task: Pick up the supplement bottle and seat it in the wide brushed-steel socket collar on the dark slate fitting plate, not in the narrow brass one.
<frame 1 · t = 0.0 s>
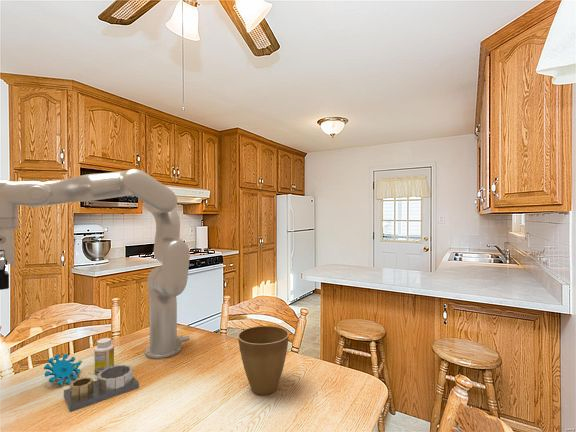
hand: (0, 286, 89), 31 cm above the table, tool pointing down, fingers open, 9 cm apart
supplement bottle: (104, 372, 104), on the table
blue virus model: (64, 381, 99), on the table
plant pot: (263, 388, 94), on the table
fitting plate: (102, 391, 93), on the table
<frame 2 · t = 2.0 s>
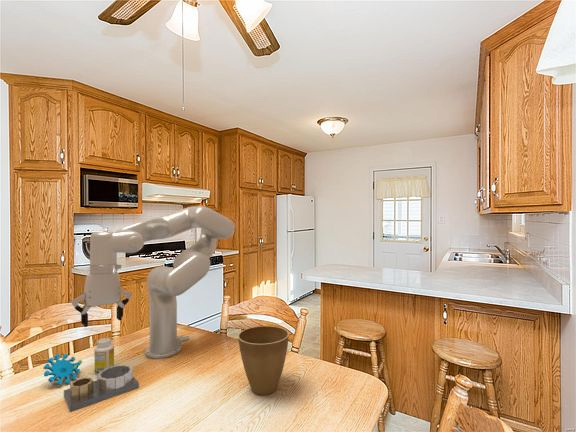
hand: (102, 322, 104), 16 cm above the table, tool pointing down, fingers open, 9 cm apart
nothing on the table moved.
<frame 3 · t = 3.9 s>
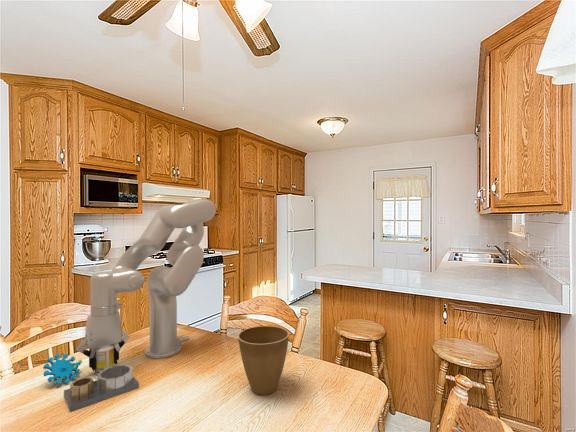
hand: (104, 365, 104), 2 cm above the table, tool pointing down, fingers closed on supplement bottle, 5 cm apart
supplement bottle: (104, 372, 104), on the table, touching gripper
everything else where it was.
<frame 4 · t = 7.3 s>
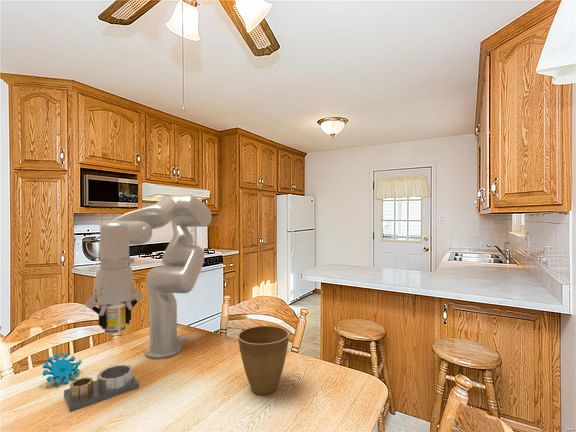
hand: (115, 324, 95), 18 cm above the table, tool pointing down, fingers closed on supplement bottle, 5 cm apart
supplement bottle: (115, 332, 95), point 16 cm above the table, touching gripper
everything else where it was.
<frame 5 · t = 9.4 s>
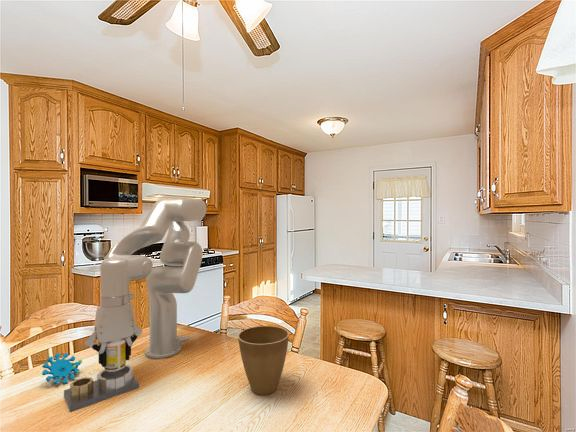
hand: (115, 361, 95), 8 cm above the table, tool pointing down, fingers closed on supplement bottle, 5 cm apart
supplement bottle: (115, 368, 95), point 5 cm above the table, touching gripper
everything else where it was.
when the fingers open (5 cm above the table, at t = 11.0 s): supplement bottle drops 2 cm, resting on fitting plate.
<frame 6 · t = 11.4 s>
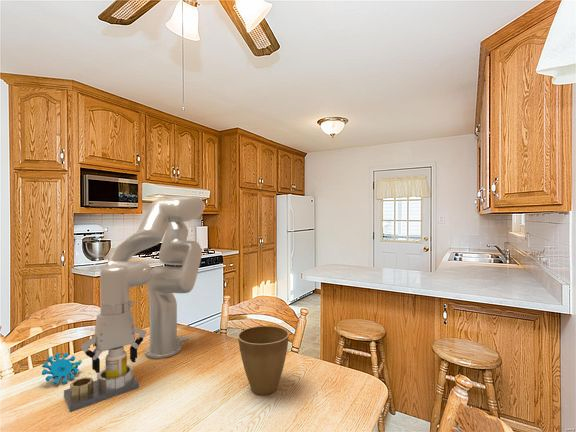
hand: (115, 365, 95), 6 cm above the table, tool pointing down, fingers open, 9 cm apart
supplement bottle: (116, 382, 95), point 1 cm above the table, touching fitting plate
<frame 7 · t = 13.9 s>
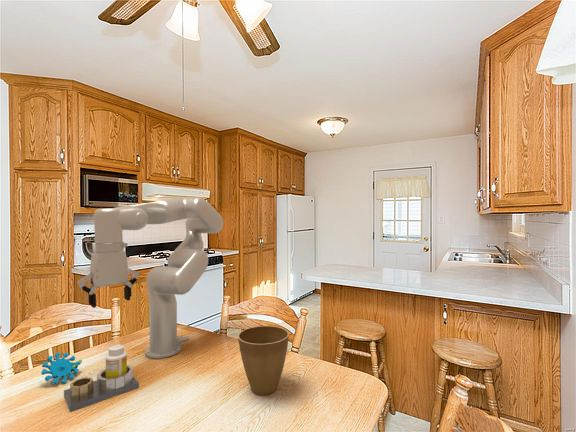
hand: (110, 302, 100), 24 cm above the table, tool pointing down, fingers open, 9 cm apart
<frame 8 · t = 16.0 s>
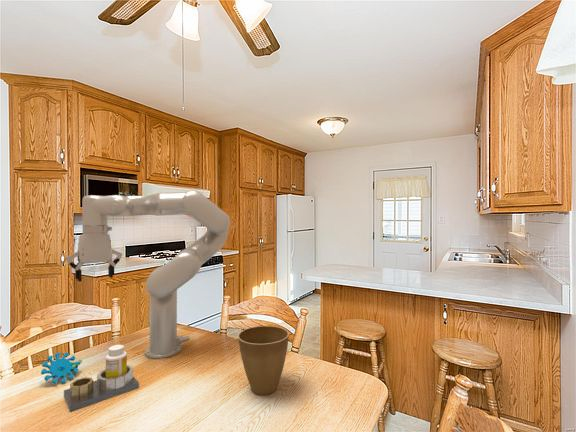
hand: (95, 279, 113), 28 cm above the table, tool pointing down, fingers open, 9 cm apart
at the end: supplement bottle 0.3 cm from the target spot on the fitting plate, point 1.3 cm above the fitting plate's base; supplement bottle tilted 0°; the gripper is holding nothing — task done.
